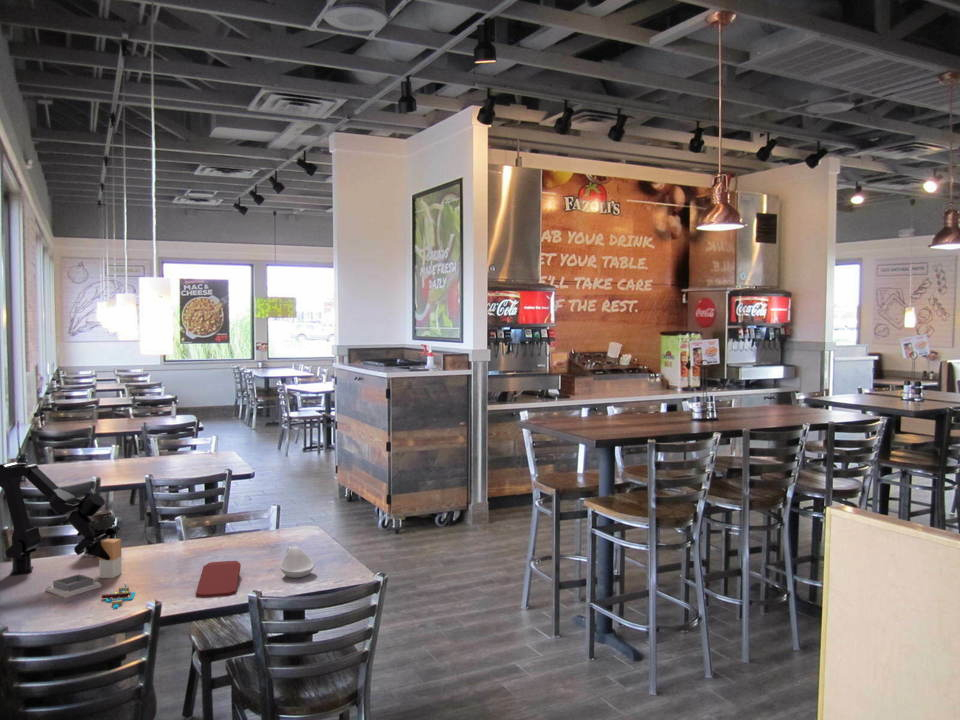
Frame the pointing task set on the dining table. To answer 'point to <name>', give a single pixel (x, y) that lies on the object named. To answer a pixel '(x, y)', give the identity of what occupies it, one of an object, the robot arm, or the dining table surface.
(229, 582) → the red rounded slab
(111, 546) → the orange and white block
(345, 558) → the dining table surface
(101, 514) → the coffee box
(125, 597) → the turquoise and red toy
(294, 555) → the spoon rest
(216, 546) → the dining table surface
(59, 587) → the socket plate
